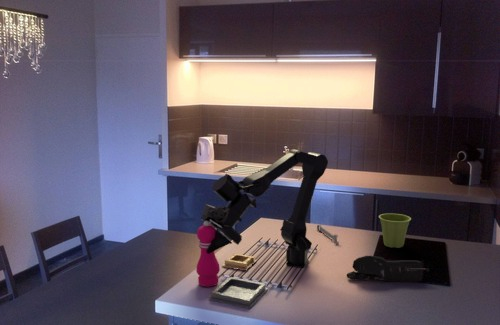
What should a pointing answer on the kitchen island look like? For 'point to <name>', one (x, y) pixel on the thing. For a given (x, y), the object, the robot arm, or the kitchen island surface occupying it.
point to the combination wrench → (328, 233)
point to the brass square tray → (239, 262)
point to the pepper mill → (207, 257)
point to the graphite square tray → (239, 292)
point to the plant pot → (394, 229)
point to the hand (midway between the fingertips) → (203, 250)
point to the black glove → (386, 270)
